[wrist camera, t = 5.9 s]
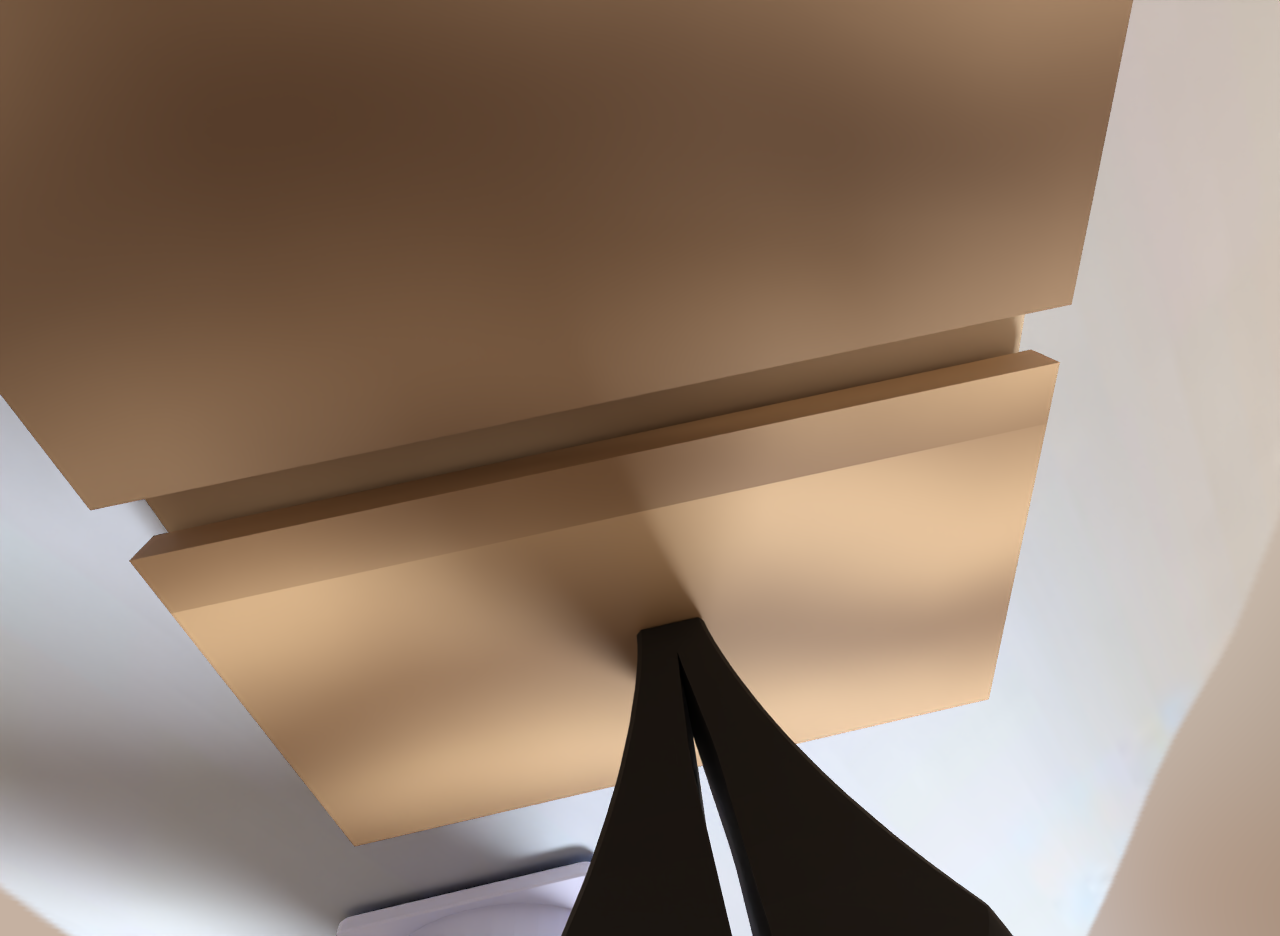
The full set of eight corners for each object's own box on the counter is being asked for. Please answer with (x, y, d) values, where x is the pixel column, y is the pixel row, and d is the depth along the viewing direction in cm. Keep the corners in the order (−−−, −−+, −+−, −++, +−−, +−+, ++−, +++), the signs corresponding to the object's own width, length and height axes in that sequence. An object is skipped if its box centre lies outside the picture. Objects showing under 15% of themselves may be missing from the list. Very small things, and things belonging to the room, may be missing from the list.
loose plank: (955, 656, 16) (988, 698, 15) (369, 790, 15) (354, 846, 14) (1005, 337, 11) (1059, 362, 10) (175, 513, 11) (129, 560, 10)
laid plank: (999, 376, 12) (1051, 403, 11) (199, 547, 11) (156, 596, 10) (1098, -274, 7) (1205, -356, 6) (-207, -44, 7) (-370, -84, 6)
